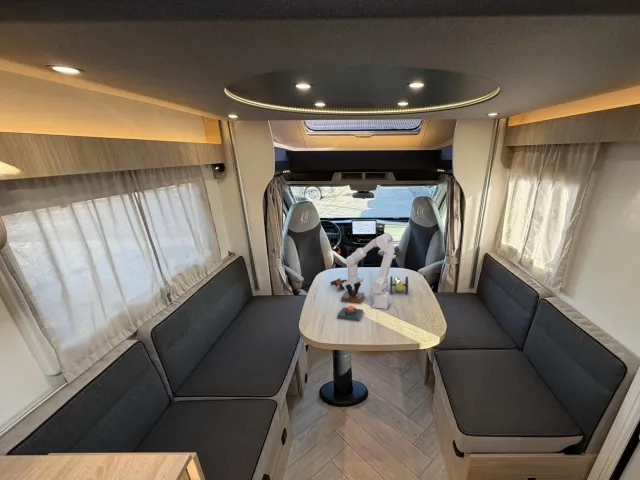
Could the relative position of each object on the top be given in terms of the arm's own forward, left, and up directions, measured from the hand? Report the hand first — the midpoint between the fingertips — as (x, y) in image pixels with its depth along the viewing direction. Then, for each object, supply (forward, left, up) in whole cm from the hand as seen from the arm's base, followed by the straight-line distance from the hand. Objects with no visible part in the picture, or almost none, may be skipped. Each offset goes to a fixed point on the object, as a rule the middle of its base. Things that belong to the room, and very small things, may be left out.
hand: (353, 294), depth 194 cm
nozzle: (-5, +21, 0) cm, 22 cm away
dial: (0, 0, 0) cm, 0 cm away
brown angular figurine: (+14, -14, -4) cm, 20 cm away
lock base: (0, 0, -3) cm, 3 cm away
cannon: (-25, -23, -4) cm, 34 cm away
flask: (-5, +21, -3) cm, 22 cm away
